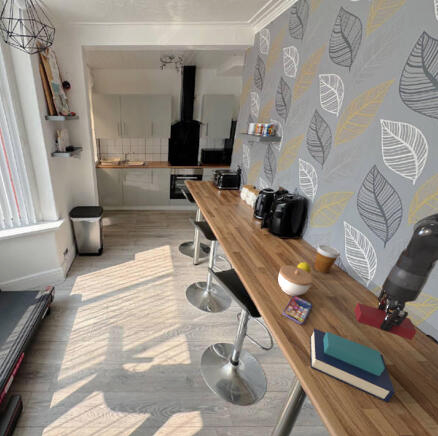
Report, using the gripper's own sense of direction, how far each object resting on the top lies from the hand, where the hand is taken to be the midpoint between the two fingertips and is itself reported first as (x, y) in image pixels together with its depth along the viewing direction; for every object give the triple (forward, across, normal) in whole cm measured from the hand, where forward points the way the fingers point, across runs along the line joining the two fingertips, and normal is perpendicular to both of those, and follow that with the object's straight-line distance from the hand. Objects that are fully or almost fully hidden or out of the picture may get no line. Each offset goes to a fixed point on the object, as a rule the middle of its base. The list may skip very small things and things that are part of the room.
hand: (381, 322), depth 77 cm
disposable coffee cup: (+11, +45, +12) cm, 48 cm away
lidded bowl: (+10, +17, +24) cm, 32 cm away
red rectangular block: (+1, 0, 0) cm, 1 cm away
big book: (+11, -14, +8) cm, 20 cm away
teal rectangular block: (+6, -14, +8) cm, 18 cm away
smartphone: (+10, +5, +21) cm, 24 cm away
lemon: (+10, +32, +20) cm, 39 cm away
